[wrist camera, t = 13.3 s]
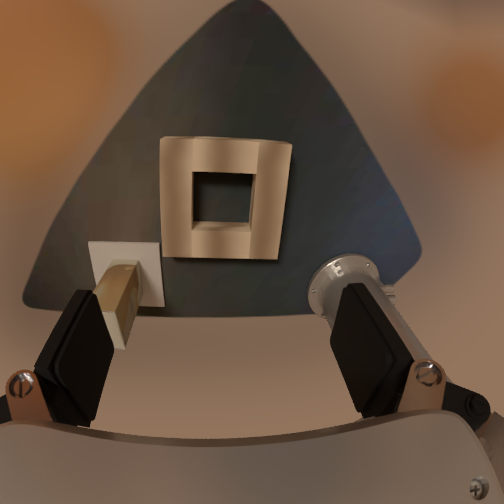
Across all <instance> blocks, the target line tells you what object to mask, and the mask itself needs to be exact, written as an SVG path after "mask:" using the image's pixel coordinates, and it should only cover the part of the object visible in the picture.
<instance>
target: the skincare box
mask: <svg viewBox="0 0 504 504" xmlns="http://www.w3.org/2000/svg"><path fill="white" fill-rule="evenodd" d="M93 294H96V295H97V298H98V301H99V304H100V307H101V310H102V313H103V316H104V319H105V322H106V325H107V328H108V331H109V333H110V336H111V339H112V341H113V344H114V349H121V350H125V348H126V344H127V341H128V338H129V335H130V331H131V328H132V325H133V322H134V319H135V316H136V313H137V310H138V307H139V305H140V302H141V299H142V296H143V287H142V279H141V273H140V266H139V261H138V260H125V259H113V260H112V261H111V263H110V265H109V266H108V268H107V269H106V271H105V273H104V274H103V276H102V278H101V279H100V281H99V283H98V284H97V286H96V288H95V289H94V291H93Z"/></svg>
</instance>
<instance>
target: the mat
mask: <svg viewBox="0 0 504 504" xmlns="http://www.w3.org/2000/svg"><path fill="white" fill-rule="evenodd" d="M88 246H89V251H90V256H91V262H92V267H93V271H94V276H95V280H96V285H97V284H98V283H99V281H100V279H101V278H102V276H103V274H104V273H105V271H106V269H107V268H108V266H109V265H110V263H111V261H112V260H113V259H125V260H138V261H139V266H140V273H141V279H142V287H143V296H142V299H141V302H140V305H139V306H152V307H165V301H164V292H163V282H162V271H161V259H160V245H159V243H146V242H93V241H89V242H88Z"/></svg>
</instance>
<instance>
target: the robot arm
mask: <svg viewBox="0 0 504 504" xmlns="http://www.w3.org/2000/svg"><path fill="white" fill-rule="evenodd" d="M394 290H395V286H394V285H393V284H390V285H383V284H382V283H381V281H380V280H379V272H378V269H377V267H376V265H375V264H374V263H373V262H372V261H371V260H370V259H369V258H368V257H366V256H364V255H361V254H357V253H348V254H342V255H339V256H336V257H334V258H332V259H330V260H328V261H327V262H326V263H324V264H323V265H322V266H321V267H320V268H319V269H318V270H317V271H316V272H315V273H314V275H313V276H312V278H311V280H310V282H309V285H308V288H307V299H308V302H309V305H310V307H311V309H312V310H313V312H314V313H316V314H317V315H318V316H320V317H322V318H325V319H327V321H328V323H329V325H330V327H331V330H332V334H331V337H330V345H331V348H332V350H333V353H334V355H335V358H336V360H337V362H338V365H339V368H340V370H341V372H342V375H343V378H344V380H345V383H346V385H347V388H348V390H349V393H350V395H351V398H352V400H353V403H354V406H355V408H356V410H357V412H361V414H362V416H363V417H362V418H360V419H359V420H357V421H355V422H354V423H349V424H345V425H339V426H334V427H329V428H323V429H318V430H312V431H305V432H298V433H291V434H282V435H273V436H263V437H249V438H231V439H180V438H162V437H148V436H137V435H129V434H121V433H113V432H107V431H100V430H94V429H88V428H82V427H77V426H78V425H79V426H84V427H90V423H91V421H93V420H94V419H95V416H96V413H97V409H98V405H99V401H100V398H101V394H102V390H103V387H104V383H105V380H106V376H107V373H108V370H109V366H110V363H111V360H112V357H113V354H114V344H113V341H112V339H111V336H110V333H109V331H108V328H107V325H106V322H105V319H104V316H103V313H102V310H101V307H100V304H99V301H98V298H97V295H96V294H93V292H92V291H91V290H77V291H76V292H75V293H74V295H73V296H72V298H71V300H70V301H69V303H68V305H67V306H66V308H65V310H64V311H63V313H62V315H61V317H60V318H59V320H58V322H57V324H56V325H55V327H54V329H53V331H52V333H51V334H50V336H49V338H48V340H47V342H46V344H45V346H44V348H43V349H42V352H41V353H40V355H39V357H38V359H37V361H36V363H35V365H34V367H35V369H34V372H32V371H29V370H20V371H17V372H16V373H14V374H13V375H12V376H11V377H10V378H9V379H8V381H7V383H6V394H5V395H4V396H2V397H0V504H504V418H503V417H502V416H501V415H499V414H498V413H496V412H495V411H494V412H493V413H491V412H490V405H489V403H488V401H487V400H486V399H485V398H484V397H483V396H482V395H480V394H478V393H476V392H473V391H470V390H468V389H465V388H463V387H460V386H458V385H455V384H454V383H453V382H452V381H451V380H450V379H449V378H448V377H447V376H446V374H445V371H444V369H443V368H442V367H441V366H440V365H439V364H438V363H437V362H435V361H434V360H433V359H432V358H431V356H430V355H429V354H428V352H427V351H426V350H425V348H424V347H423V346H422V344H421V343H420V341H419V340H418V339H417V337H416V336H415V334H414V333H413V331H412V330H411V329H410V327H409V326H408V324H407V323H406V321H405V320H404V319H403V317H402V316H401V315H400V313H399V312H398V311H397V309H396V308H395V306H394V305H395V304H396V301H397V300H396V296H395V295H386V294H385V293H393V292H394Z"/></svg>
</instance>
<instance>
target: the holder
mask: <svg viewBox="0 0 504 504" xmlns="http://www.w3.org/2000/svg"><path fill="white" fill-rule="evenodd" d="M291 150H292V145H291V144H289V143H287V142H282V141H272V140H260V139H245V138H227V137H193V136H168V137H163V138H161V139H160V209H161V232H162V249H163V257H195V258H238V259H277V258H278V251H279V244H280V237H281V229H282V222H283V214H284V207H285V199H286V191H287V183H288V175H289V167H290V159H291ZM194 172H227V173H248V174H253V181H252V192H251V204H250V215H249V223H239V222H205V221H193V200H194Z"/></svg>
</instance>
